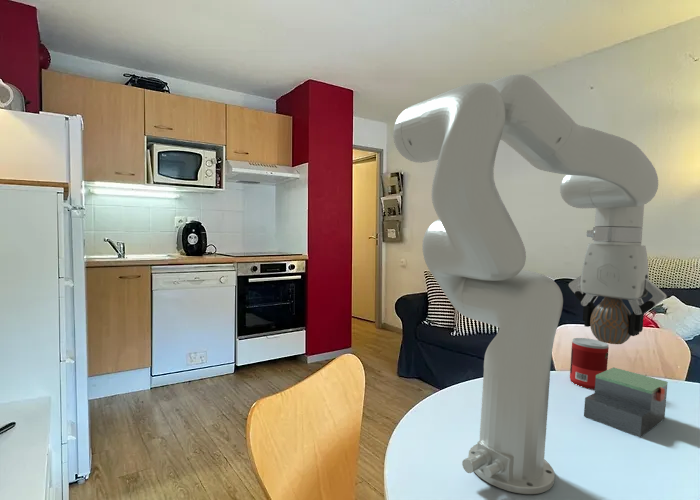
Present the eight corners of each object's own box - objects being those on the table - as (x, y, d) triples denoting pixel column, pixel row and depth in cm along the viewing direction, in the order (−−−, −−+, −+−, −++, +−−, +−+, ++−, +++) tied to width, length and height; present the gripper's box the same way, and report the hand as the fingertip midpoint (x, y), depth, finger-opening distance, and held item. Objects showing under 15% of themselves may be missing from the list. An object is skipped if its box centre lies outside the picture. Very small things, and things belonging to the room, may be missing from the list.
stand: (645, 439, 74) (649, 397, 74) (583, 416, 83) (586, 378, 82) (669, 420, 82) (672, 383, 82) (611, 401, 91) (613, 367, 91)
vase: (590, 334, 81) (593, 291, 80) (632, 341, 77) (635, 296, 76) (587, 341, 75) (590, 295, 74) (631, 349, 71) (635, 300, 70)
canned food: (611, 391, 97) (614, 347, 97) (575, 387, 99) (578, 344, 98) (598, 380, 105) (601, 339, 104) (565, 377, 106) (568, 336, 106)
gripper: (560, 235, 79) (555, 323, 80) (667, 238, 65) (659, 344, 66) (577, 235, 84) (572, 318, 85) (681, 239, 70) (674, 338, 71)
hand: (610, 329), depth 76 cm, fingers closed on vase, 6 cm apart
